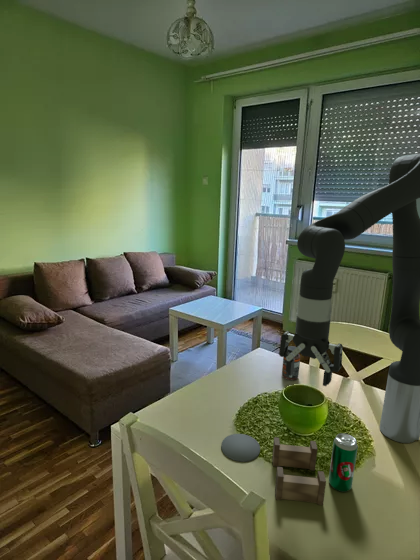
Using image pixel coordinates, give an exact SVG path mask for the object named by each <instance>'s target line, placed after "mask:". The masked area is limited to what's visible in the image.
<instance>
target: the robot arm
mask: <svg viewBox="0 0 420 560" xmlns="http://www.w3.org/2000/svg"><path fill="white" fill-rule="evenodd" d="M418 199H420V152H419V153H413V154H407V155H401V156H399V157H397V158H396V159H395V160H394V161H393V162H392V164H391V166H390V170H389V176H388V184H387V185H384V186H383V187H380V188H377V189H375V190H373V191H370V192H368V193H366V194H363V195H362V196H359V197H357V198H356V199H355V200H352V201H351V202H350V203H349V204H347V205H346V206H344V207H342V208H341V209H340V210H339V211H338V212H336V213H334V214H332V215H329V216H326V217H323V218H322V219H319V220H317V221H315V222H313V223H311V224H309V225H308V226H306V227H305V228H304V229H303V230H302V231H301V232H300V234H299V235H298V238H297V241H296V242H297V244H296V245H297V246H296V247H297V249H298V250H299V252H300V254H301V255H303V256H305V257H308V258H311V259H314V260H315V261H314V264H313V267H312V268H308V269H306V270H304V271H303V272H302V273H301V277H300V285H299V296H298V300H297V307H296V320H295V330H294V331H295V333H294V334H293V333H290V331H288V330H286V331H285V332H283V333H282V334H281V338H280V345H279V353H278V356H279V357H281V358H283V357H284V358H285V359H286V361H287V362H286V372H288V375H290V376H291V375H292V374H293V372H294V363H295V359H294V357H295V356H296V355H297V354H298V353H299V354H300V355H301V356H303V357H308V358H311V359H313V360H315V359H317V362H318V363H319V364H320V365H321V366H322V368H323V370H324V371H323V380H322V387H327V386H328V385H330V383H331V382H332V379H333V372H334V373H338V372H340V369H341V368H342V366H343V344H342V343H338V344H334V343H330V340H329V338H330V337H329V336H330V327H331V318H332V308H333V305H332V304H333V302H332V301H333V300H332V299H333V289H334V280H335V279H336V278H335V277H336V275H337V273H338V271H339V267H340V265H341V263H342V261H343V258H344V255H345V251H346V250H345V249H346V242H345V240H346V241H349V240H353V239H356V238H357V237H359V236H360V235H362V234H363V233H365V232H366V231H368V229H370V228H372V227H373V226H374V225H376V224H377V223H378V222H380V221H381V220H383V219H385V218H386V217H387V216H389V215H391V217H392V259H391V260H392V261H391V262H392V263H391V264H392V265H391V266H392V301H391V302H392V303H391V311H390V319H389V327H388V332H389V333H388V335H389V339H390V341H391V343H392V344H393V345H394V347H396V348H397V349H399V351H401V355H400V360H398V361H397V360H395V361H392V362H391V363H390V365H389V366H388V367H389V368H388V374H387V381H386V387H385V392H384V397H383V398H384V399H383V404H382V411H381V416H380V422H379V431H380V432H381V433H382V434H383V435H384V436H385V437H387V438H389V439H390V440H392V441H394V442H398V443H403V444H411V443H414V442H415V441H414V440H419V441H420V215H419V212H418V207H417V200H418ZM291 341H293V343H294V345H295V347H297V348H296V349H295V350H294V351H292V352H291V353H289V352H288V347H289V344H290V342H291ZM328 350H330V351H331V354H332V355H333V363H332V361H331V359H330V356H329V354H328V353H327V351H328ZM410 442H411V443H410Z"/></svg>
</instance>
